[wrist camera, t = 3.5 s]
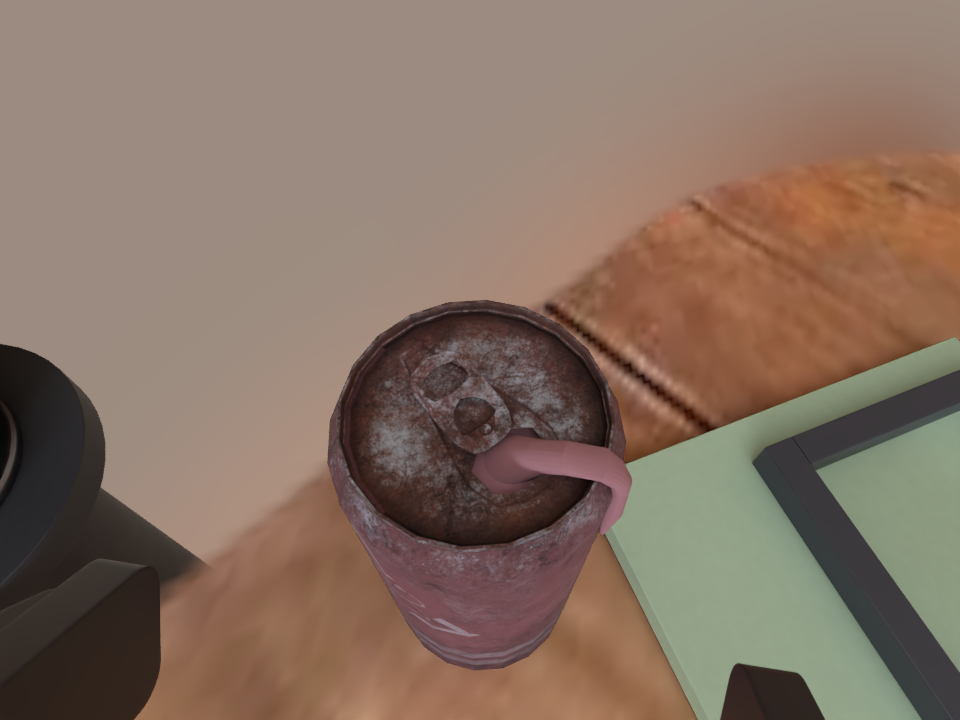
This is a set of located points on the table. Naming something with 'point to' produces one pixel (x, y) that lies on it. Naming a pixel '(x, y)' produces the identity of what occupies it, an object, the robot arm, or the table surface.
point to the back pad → (812, 545)
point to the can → (478, 473)
